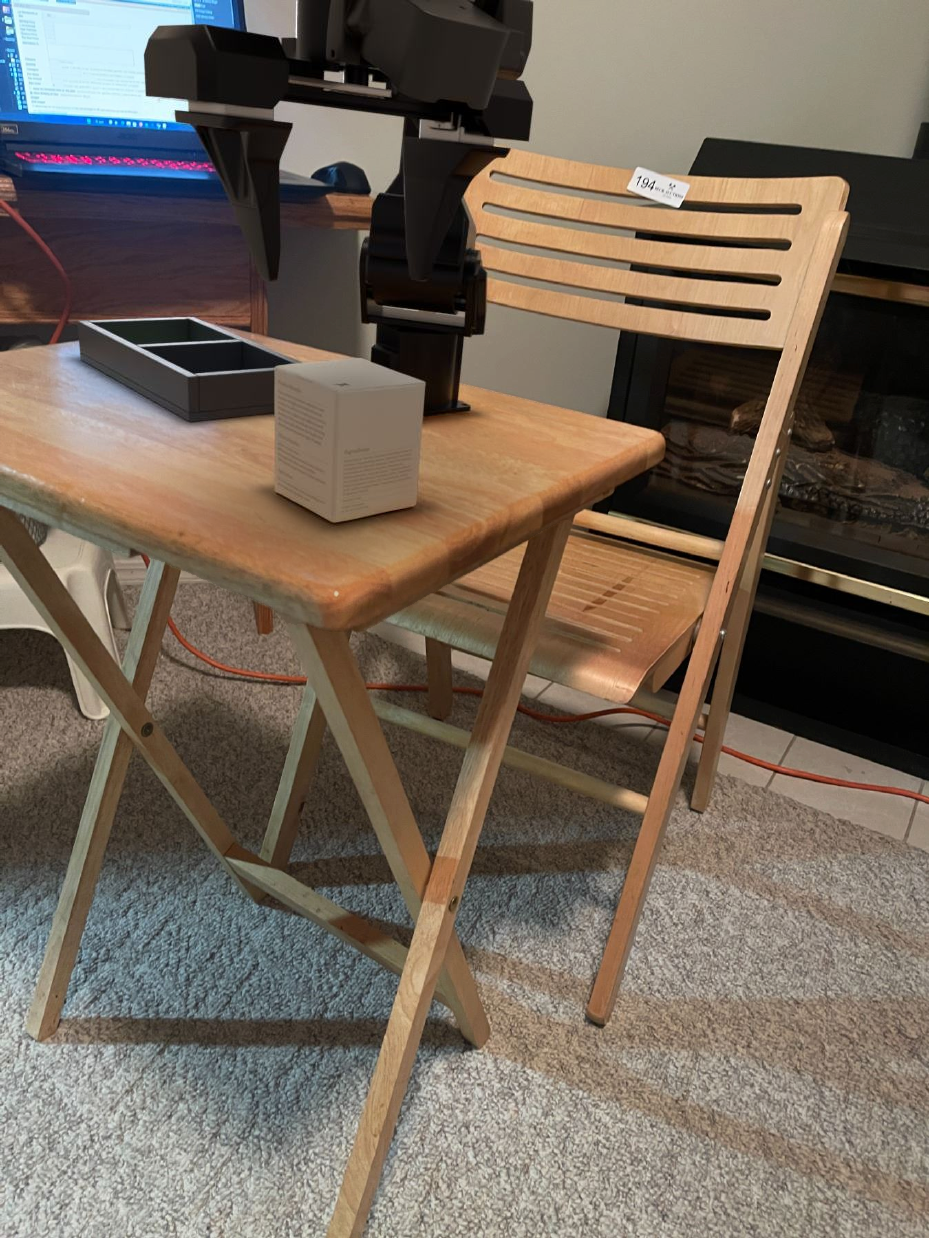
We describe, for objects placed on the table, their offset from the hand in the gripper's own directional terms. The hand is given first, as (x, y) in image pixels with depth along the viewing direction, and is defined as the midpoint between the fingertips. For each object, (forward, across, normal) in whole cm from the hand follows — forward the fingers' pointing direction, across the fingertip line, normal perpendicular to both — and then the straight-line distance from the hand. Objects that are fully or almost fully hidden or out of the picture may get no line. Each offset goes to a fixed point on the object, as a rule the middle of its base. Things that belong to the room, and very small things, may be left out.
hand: (347, 280), depth 49 cm
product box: (+12, 0, 0) cm, 12 cm away
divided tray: (+12, +4, +27) cm, 30 cm away
